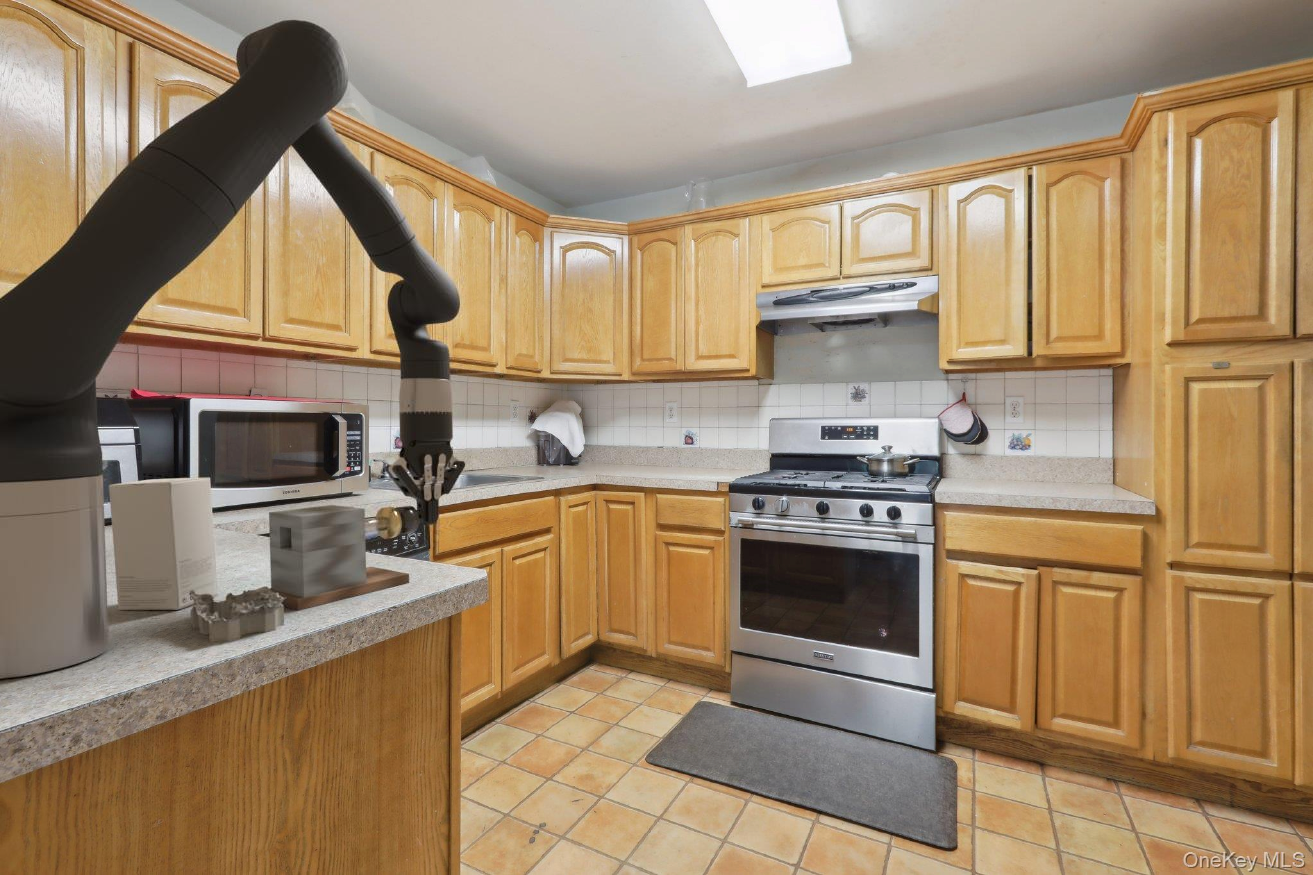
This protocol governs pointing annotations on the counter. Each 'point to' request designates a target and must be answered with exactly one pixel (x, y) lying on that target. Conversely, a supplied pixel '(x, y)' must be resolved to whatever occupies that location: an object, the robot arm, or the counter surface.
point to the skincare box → (163, 542)
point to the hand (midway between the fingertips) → (428, 524)
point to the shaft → (393, 521)
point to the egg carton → (237, 614)
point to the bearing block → (322, 556)
